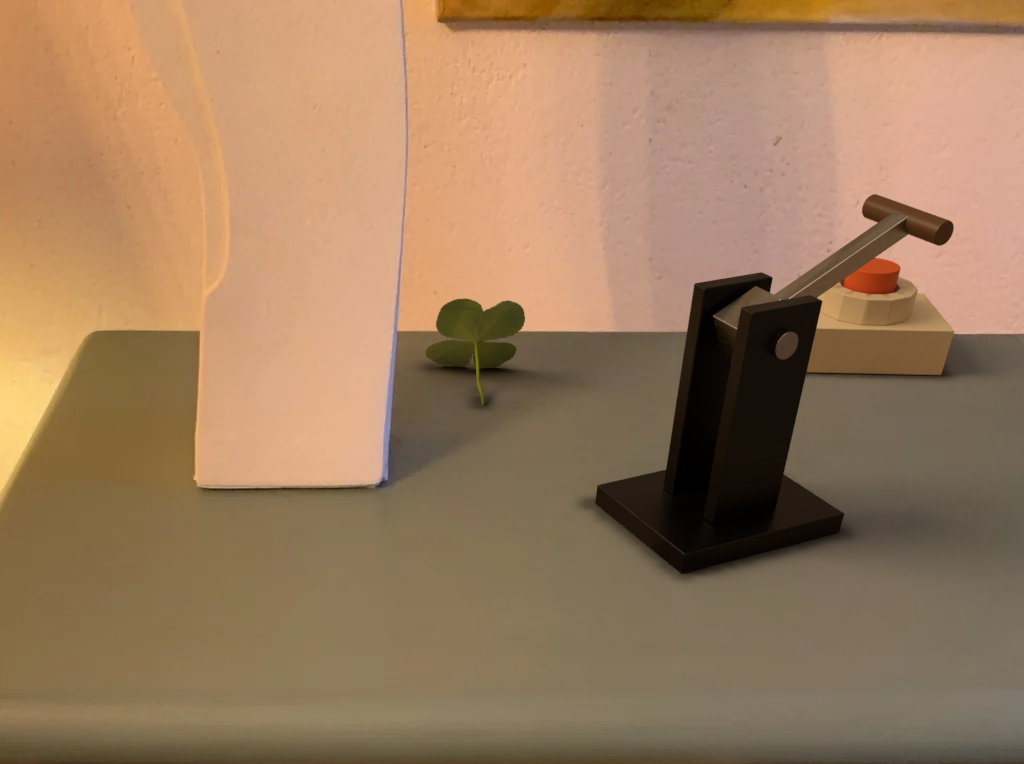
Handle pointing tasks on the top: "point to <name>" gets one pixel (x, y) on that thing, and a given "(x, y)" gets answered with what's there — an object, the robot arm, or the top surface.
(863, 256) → the lever handle
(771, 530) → the black lever stand
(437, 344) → the seedling
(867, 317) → the button block
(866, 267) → the button
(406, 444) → the top surface
